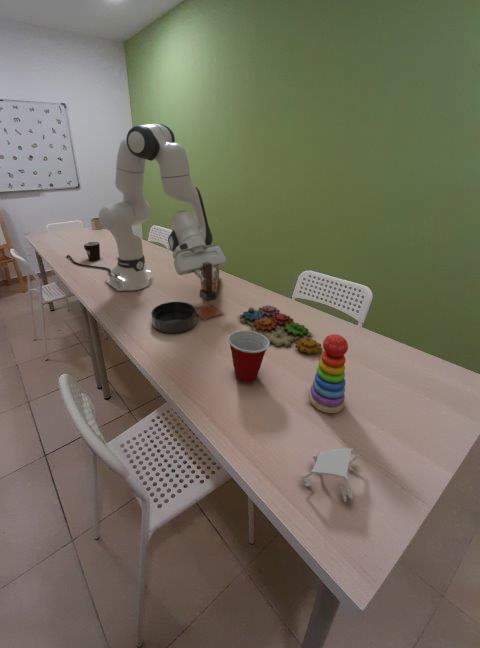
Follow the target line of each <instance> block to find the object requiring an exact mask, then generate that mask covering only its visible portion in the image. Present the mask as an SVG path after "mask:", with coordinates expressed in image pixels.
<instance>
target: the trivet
mask: <svg viewBox="0 0 480 648" xmlns="http://www.w3.org/2000/svg"><path fill="white" fill-rule="evenodd" d="M195 309H196V313H197V316H198V317H199V318H200V319H201V320H203V321H205V320H209V319H212V318H215V317H220V316H222V313H221V311H219V310H218V309H216V308H215V307H213V305H211V304H210V305H207V306H204V307H203V306H202V307H199V308H195Z"/></svg>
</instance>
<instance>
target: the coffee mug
mask: <svg viewBox="0 0 480 648" xmlns="http://www.w3.org/2000/svg"><path fill="white" fill-rule="evenodd" d="M100 247H101V246H100V242H99V241H89V242H85V243H84V244H83V249H84V251H86V255H87V258H88V261H89V262H97V261H100V260H101V249H100Z"/></svg>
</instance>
